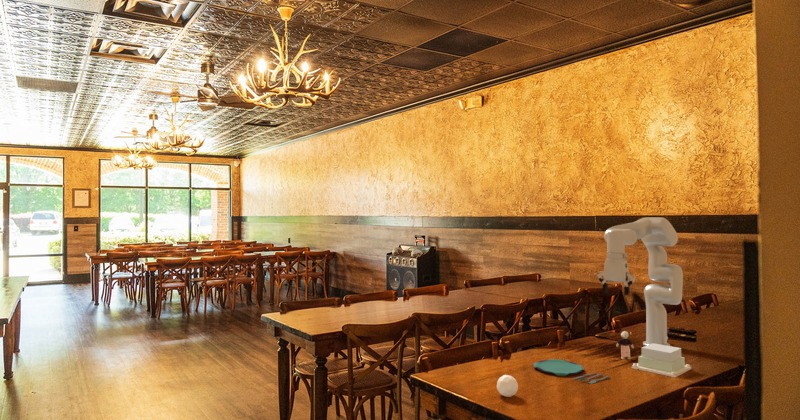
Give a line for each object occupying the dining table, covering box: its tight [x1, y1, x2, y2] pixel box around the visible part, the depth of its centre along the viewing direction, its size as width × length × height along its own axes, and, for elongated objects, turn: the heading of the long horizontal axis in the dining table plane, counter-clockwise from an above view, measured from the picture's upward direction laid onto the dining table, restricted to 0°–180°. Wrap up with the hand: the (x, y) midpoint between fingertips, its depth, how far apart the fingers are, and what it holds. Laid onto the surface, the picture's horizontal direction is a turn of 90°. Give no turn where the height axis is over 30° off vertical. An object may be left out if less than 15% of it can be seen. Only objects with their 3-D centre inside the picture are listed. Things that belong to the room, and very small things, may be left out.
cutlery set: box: [533, 358, 611, 385], centre depth 222 cm, size 20×30×2 cm, turn 34°
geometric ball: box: [496, 374, 519, 398], centre depth 193 cm, size 8×8×8 cm
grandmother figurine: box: [615, 330, 635, 360], centre depth 245 cm, size 8×4×13 cm, turn 84°
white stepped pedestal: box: [631, 343, 692, 378], centre depth 229 cm, size 18×18×9 cm
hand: (615, 294), depth 239 cm, fingers open, 9 cm apart
